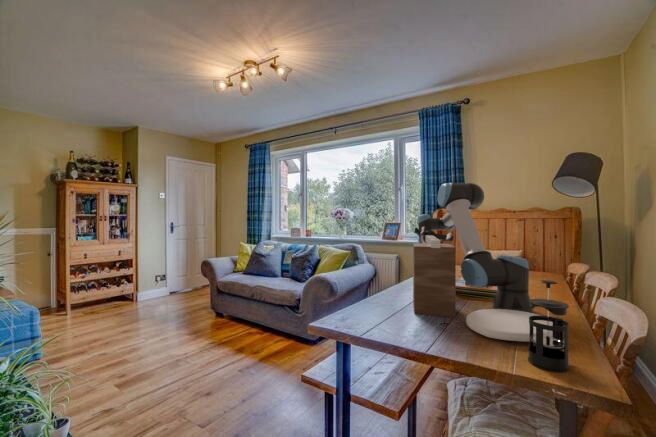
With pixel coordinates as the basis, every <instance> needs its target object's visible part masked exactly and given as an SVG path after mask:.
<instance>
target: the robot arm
mask: <svg viewBox="0 0 656 437" xmlns="http://www.w3.org/2000/svg"><path fill="white" fill-rule="evenodd" d="M484 200H485V192H484V190H483V189H482V187H480V185H478V184H476V183H473V182H472V183H471V182H467V183H466V182H447V183H446V182H445V183H443V184H441V186H440V187H439V189H438V191H437V205H439V207H441V208H442V207H444V208H445V212H446V213H445V215H443V216H442V217H431V215H430V214H426V213H425V214H424V213H423V214H420V215H418V217H417V224H418V226H417V227H415V229H414V234H416V235H417V236H418V237H419V238H418V243H427V242H426V235H433V236H435V237H436V238H437V239H439V240H440V243H442V242H453V241H454V235H452V234H453V233H452V232H450V231H452V230H454V229H455V230H456V233H457V236H458V238H459V241H460V245H461V248H462V250H463V251H462V252H463V254H464V256H463V258H462V262H461V264H460V273H461V277H462V278H463V279H462V280H464V282H465V283H466V284H467V285H469V286H471V287H474V288H488V287H493V288H494V287H496V289H497V290H496V294H495V295H494V299H493V302H492V309H507V310H517V311H524V312H529V313H534V308H533V309H531V303H529V300H530V299H531V296H530V293H529V290H530V289H529V288H530V287H529V284H530V283H529V282H530V281H529V280H530V278H529V277H530V274H529V273H530V267H529V266H530V265H529V260H527V258H524V257H518V256H512V255H511V256H510V255H503V254H498V255H497V257H496V258H493V255H492V253H491V251H489V250H487V249H486V247H485V246H484V243H483V241H482V238H481V236H480V233H479V230H478V228H477V225H476V223H475V221H474V218H473V216H472V212H471V211H474V210H476V209H478V208H479V207H480V206H482V205H483V203H484ZM435 231H449V232H448V233H447V234H440V233H436V232H435Z"/></svg>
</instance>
